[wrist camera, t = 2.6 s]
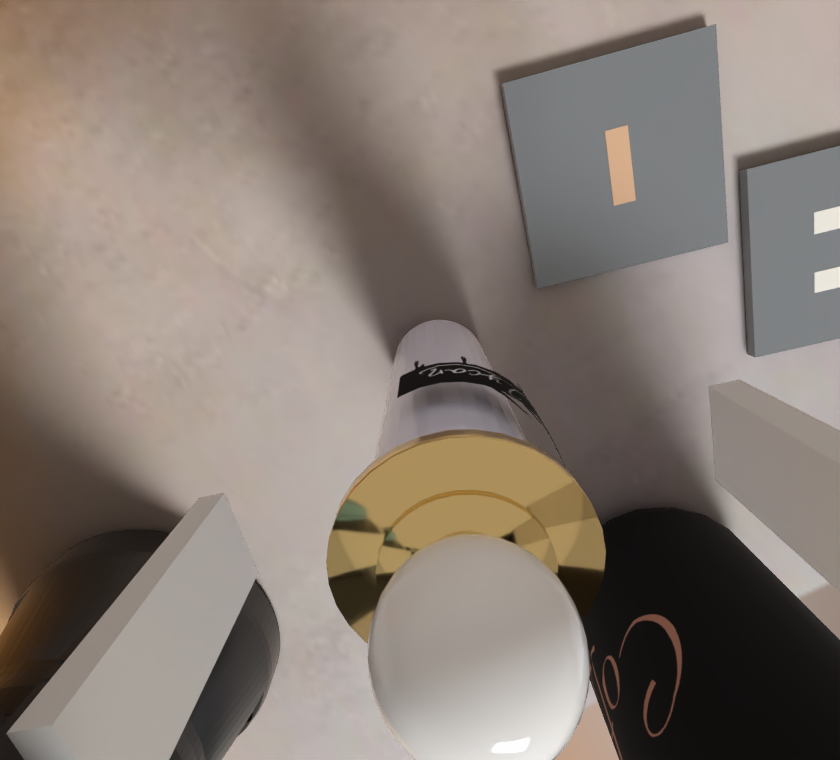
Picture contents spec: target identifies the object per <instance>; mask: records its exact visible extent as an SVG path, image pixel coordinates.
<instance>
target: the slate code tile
mask: <svg viewBox="0 0 840 760" xmlns="http://www.w3.org/2000/svg"><path fill="white" fill-rule="evenodd" d="M739 183H740V204H741V225H742V245H743V266H744V287H745V308H746V329H747V349H748V355H751V356H753V357H759V356H764V355H768V354H773V353H777V352H781V351H786V350H790V349H795V348H799V347H803V346H808V345H812V344H817V343H821V342H825V341H830V340H834V339H839V338H840V145H838V146H834V147H830V148H827V149H823V150H819V151H815V152H811V153H807V154H803V155H799V156H795V157H791V158H787V159H783V160H780V161H776V162H772V163H768V164H764V165H760V166H756V167H752V168H748V169H744V170H740V171H739Z"/></svg>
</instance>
